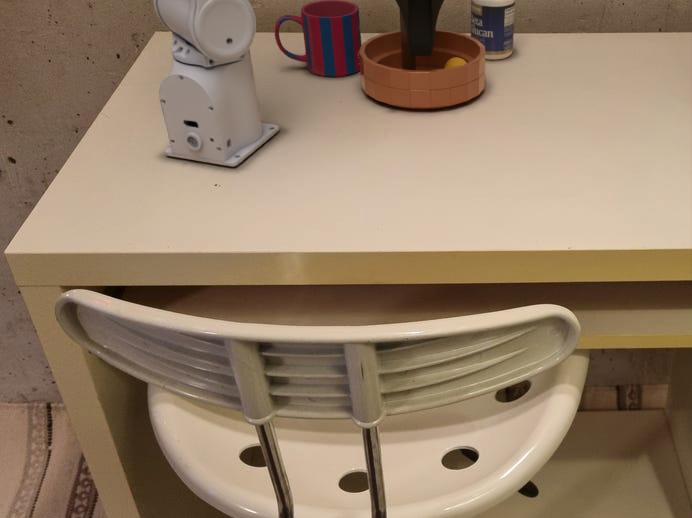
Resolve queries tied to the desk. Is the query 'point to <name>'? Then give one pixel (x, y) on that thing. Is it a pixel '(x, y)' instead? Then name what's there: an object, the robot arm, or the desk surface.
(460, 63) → the ball
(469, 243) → the desk surface
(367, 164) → the desk surface
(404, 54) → the stick
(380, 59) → the bowl
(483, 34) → the pill bottle
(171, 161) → the desk surface
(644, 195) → the desk surface
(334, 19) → the mug
